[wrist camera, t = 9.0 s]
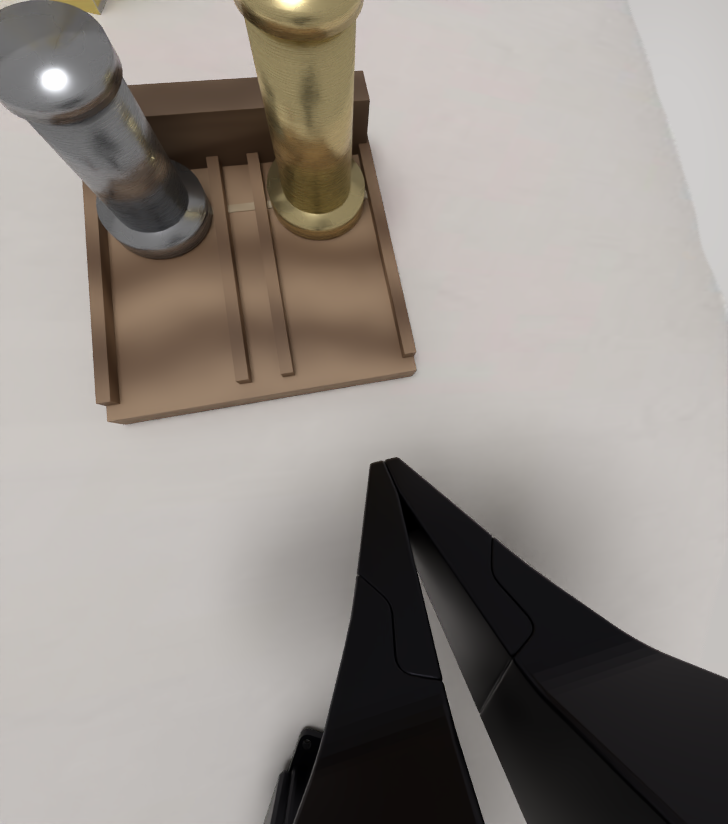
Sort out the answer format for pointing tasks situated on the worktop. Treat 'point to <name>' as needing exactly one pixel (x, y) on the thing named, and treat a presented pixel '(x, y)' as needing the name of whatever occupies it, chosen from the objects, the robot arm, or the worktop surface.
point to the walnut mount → (241, 277)
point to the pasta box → (86, 5)
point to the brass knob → (308, 110)
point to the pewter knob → (98, 127)
